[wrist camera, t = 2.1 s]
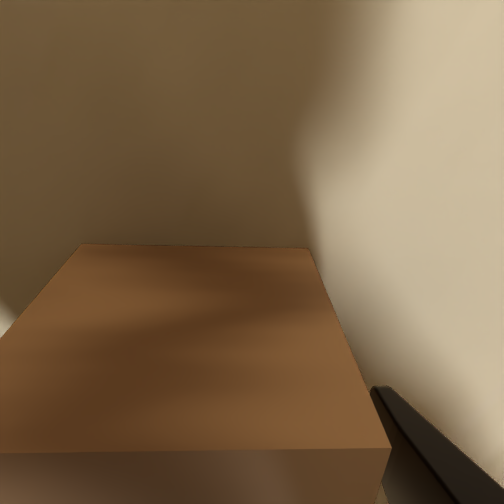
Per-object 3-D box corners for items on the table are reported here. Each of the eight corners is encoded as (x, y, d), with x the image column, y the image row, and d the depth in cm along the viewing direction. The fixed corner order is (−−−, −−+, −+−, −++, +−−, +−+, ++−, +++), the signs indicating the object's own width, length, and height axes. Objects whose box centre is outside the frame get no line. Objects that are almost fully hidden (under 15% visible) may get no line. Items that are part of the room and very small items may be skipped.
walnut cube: (307, 246, 10) (392, 448, 5) (288, 404, 13) (328, 646, 7) (82, 242, 10) (-99, 454, 4) (110, 404, 12) (18, 661, 7)
